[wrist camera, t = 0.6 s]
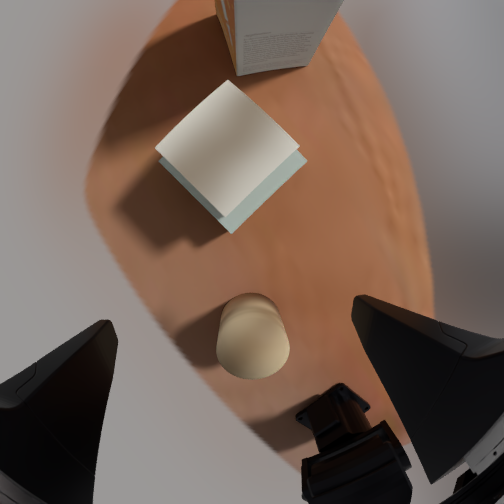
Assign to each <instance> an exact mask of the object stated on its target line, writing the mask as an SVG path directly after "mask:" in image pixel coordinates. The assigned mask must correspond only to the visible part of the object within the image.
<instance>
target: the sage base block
mask: <svg viewBox="0 0 504 504" xmlns="http://www.w3.org/2000/svg"><path fill="white" fill-rule="evenodd" d="M159 162H160V163H161V164H162V165H163V166H164V167H165V168H166V169H167V170H168V171H169V172H170V173H171V174H172V175H173V176H174V177H175V178H176V179H177V180H178V181H179V182H180V183H181V184H182V185H183V186H184V187H185V188H186V189H187V190H188V191H189V192H190V193H191V194H192V195H193V196H194V197H195V198H196V199H197V200H198V201H199V202H200V203H201V204H202V205H203V206H204V207H205V208H206V209H207V210H208V211H209V212H210V213H211V214H212V215H213V216H214V217H215V218H216V219H217V220H218V221H219V222H220V223H221V224H222V225H223V226H224V227H225V228H226V229H227V230H228V231H229V232H230V233H231V234H232V233H233V232H234V231H235V230H236V229H237V228H238V227H239V226H240V225H241V224H242V223H243V222H244V221H245V220H246V219H247V218H248V217H249V216H250V215H251V214H252V213H253V212H254V211H255V210H256V209H258V208H259V207H260V206H261V205H262V204H263V203H264V202H265V201H266V200H267V199H268V198H269V197H270V196H271V195H272V194H273V193H274V192H275V191H276V190H277V189H278V188H279V187H280V186H281V185H283V184H284V183H285V182H286V181H287V180H288V179H289V178H290V177H291V176H292V175H293V174H294V173H295V172H296V171H297V170H298V169H299V168H301V167H302V166H303V165H304V164H305V163H306V162H307V160H306V159H305V158H304V157H303V156H302V155H301V154H300V153H299V152H298V151H297V150H295V151H294V152H293V153H292V154H291V155H290V156H289V157H288V158H287V159H285V160H284V161H283V162H282V163H281V164H280V165H279V166H278V167H277V168H276V169H275V170H274V171H273V172H272V173H271V174H270V175H268V176H267V177H266V178H265V179H264V180H263V181H262V182H261V183H260V184H259V185H258V186H257V187H256V188H255V189H254V190H253V191H252V192H251V193H250V194H249V195H248V196H247V197H246V198H245V199H244V200H243V201H242V202H241V203H240V204H239V205H238V206H237V207H236V208H235V209H234V210H232V211H231V212H230V213H229V214H228V215H227V216H226V217H224V216H223V215H222V214H221V213H220V212H219V211H218V210H217V209H216V208H215V207H214V206H213V205H212V204H211V203H210V202H209V201H208V200H207V199H206V198H205V197H204V196H203V195H202V194H201V193H200V192H199V191H198V190H197V189H196V188H195V187H194V186H193V185H192V184H191V183H190V182H189V181H188V180H187V179H186V178H185V177H184V176H183V175H182V174H181V173H180V172H179V171H178V170H177V169H176V168H175V167H174V166H173V165H172V164H171V163H170V162H169V161H168V160H167V159H166V158H165V157H164V156H163V157H162V158H161V159H160V160H159Z"/></svg>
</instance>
